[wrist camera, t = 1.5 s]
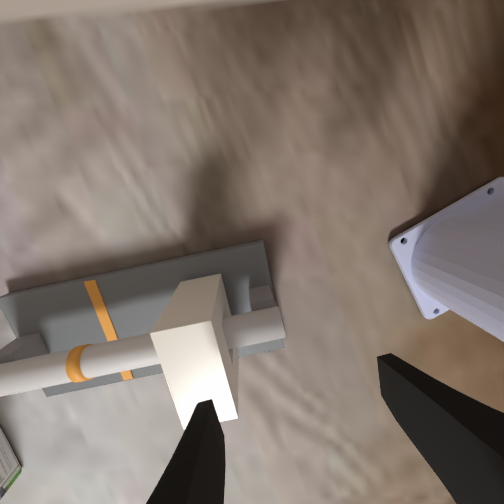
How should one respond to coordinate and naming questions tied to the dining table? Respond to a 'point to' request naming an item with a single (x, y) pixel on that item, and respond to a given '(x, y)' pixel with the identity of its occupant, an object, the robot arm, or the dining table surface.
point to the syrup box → (7, 465)
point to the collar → (198, 348)
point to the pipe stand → (128, 320)
